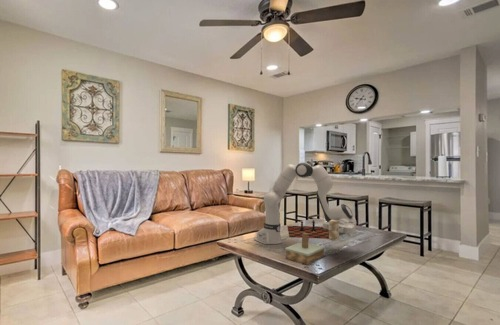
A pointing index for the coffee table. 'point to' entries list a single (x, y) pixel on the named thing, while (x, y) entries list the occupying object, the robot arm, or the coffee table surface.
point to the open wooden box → (304, 257)
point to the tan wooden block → (333, 230)
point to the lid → (305, 247)
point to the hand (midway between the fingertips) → (333, 229)
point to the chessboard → (308, 231)
